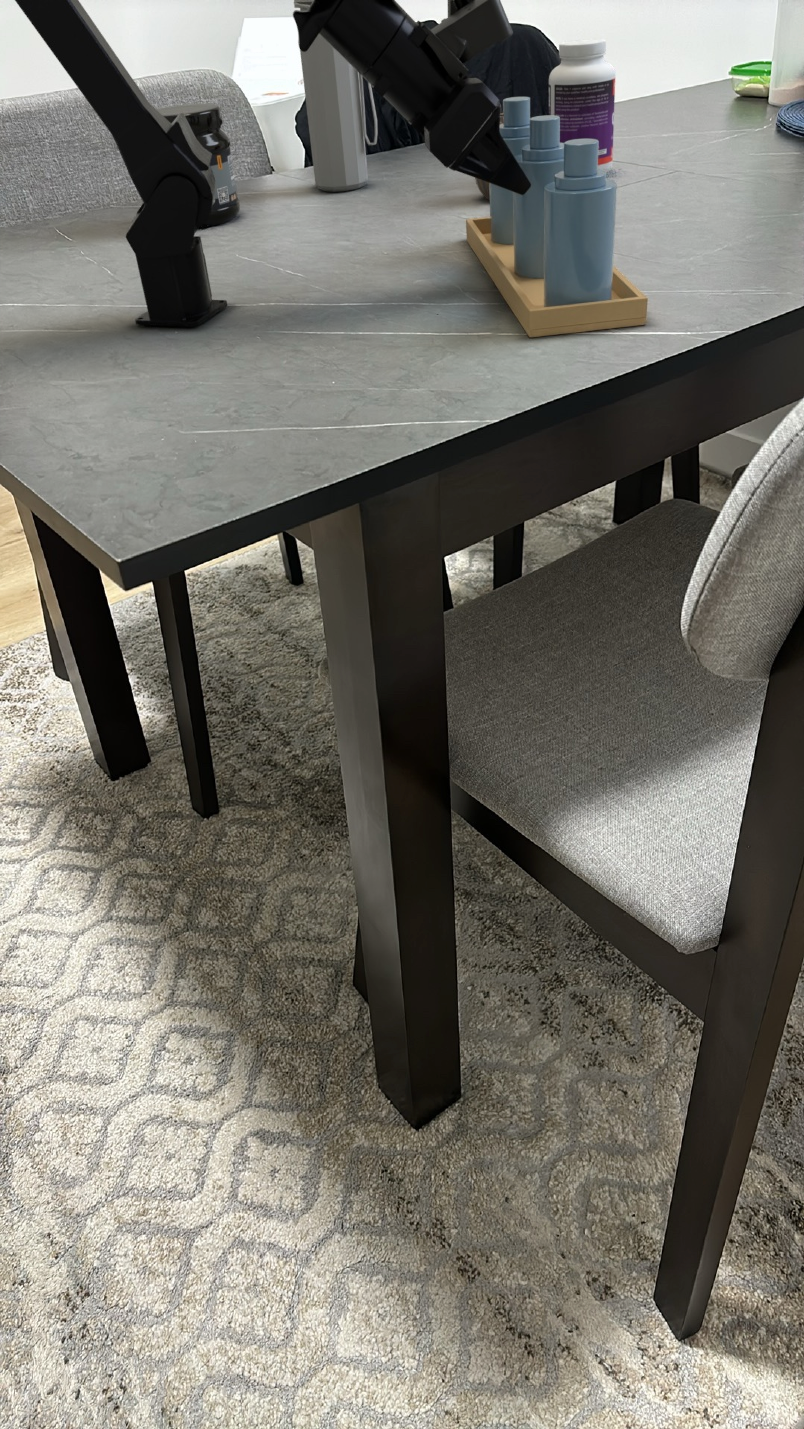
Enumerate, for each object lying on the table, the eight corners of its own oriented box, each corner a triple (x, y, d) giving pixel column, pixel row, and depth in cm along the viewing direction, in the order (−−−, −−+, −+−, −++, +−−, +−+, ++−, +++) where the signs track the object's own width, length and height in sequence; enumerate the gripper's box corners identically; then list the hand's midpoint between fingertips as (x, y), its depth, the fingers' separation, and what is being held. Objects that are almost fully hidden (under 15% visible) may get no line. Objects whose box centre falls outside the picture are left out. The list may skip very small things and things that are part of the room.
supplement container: (142, 223, 129) (118, 114, 122) (214, 206, 134) (196, 100, 127) (182, 235, 123) (160, 119, 115) (257, 216, 127) (241, 105, 120)
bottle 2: (619, 316, 84) (627, 143, 76) (551, 323, 84) (553, 151, 76) (601, 297, 89) (607, 132, 81) (537, 304, 88) (537, 139, 81)
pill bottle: (624, 175, 130) (630, 39, 121) (567, 184, 128) (570, 47, 119) (591, 166, 136) (595, 36, 127) (537, 175, 134) (537, 44, 125)
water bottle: (306, 194, 136) (278, -40, 121) (326, 181, 142) (302, -44, 127) (372, 193, 133) (352, -47, 118) (390, 180, 139) (373, -50, 124)
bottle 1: (550, 241, 105) (551, 99, 97) (495, 247, 105) (492, 105, 97) (538, 228, 109) (539, 92, 102) (486, 234, 109) (483, 98, 101)
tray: (646, 324, 84) (648, 297, 82) (529, 337, 83) (529, 311, 82) (555, 230, 110) (555, 209, 109) (466, 240, 110) (465, 219, 109)
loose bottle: (520, 281, 94) (519, 125, 87) (508, 266, 99) (506, 116, 91) (580, 274, 94) (585, 118, 87) (565, 259, 99) (568, 110, 91)
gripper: (467, -47, 74) (611, 115, 81) (434, -50, 89) (558, 87, 96) (368, 91, 78) (512, 233, 86) (352, 66, 93) (476, 189, 100)
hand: (517, 180), depth 92 cm, fingers open, 9 cm apart
